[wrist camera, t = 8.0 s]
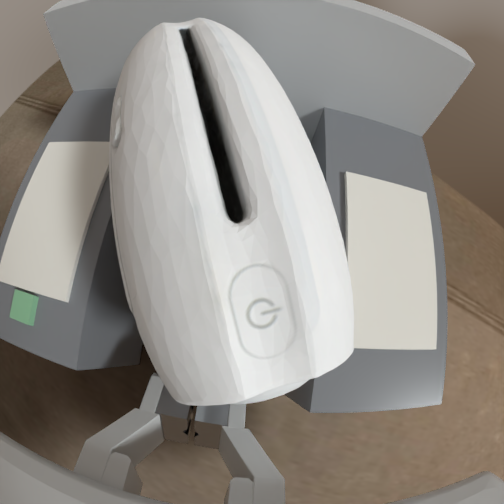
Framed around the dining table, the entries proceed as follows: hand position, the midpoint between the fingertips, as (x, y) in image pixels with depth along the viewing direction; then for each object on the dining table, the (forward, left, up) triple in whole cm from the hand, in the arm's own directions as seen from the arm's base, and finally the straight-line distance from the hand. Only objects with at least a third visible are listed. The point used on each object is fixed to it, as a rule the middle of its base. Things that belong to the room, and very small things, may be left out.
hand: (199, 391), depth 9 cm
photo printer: (0, +5, -5) cm, 8 cm away
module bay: (0, +6, -5) cm, 8 cm away
